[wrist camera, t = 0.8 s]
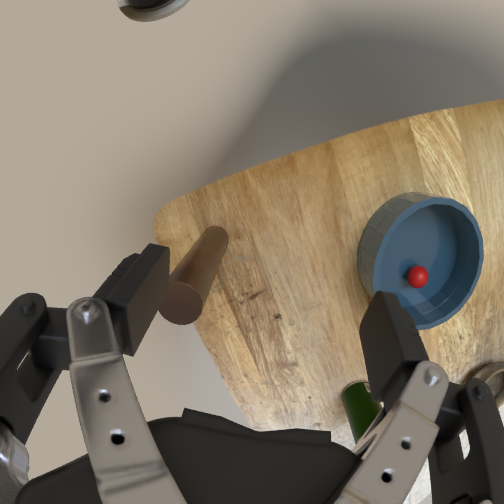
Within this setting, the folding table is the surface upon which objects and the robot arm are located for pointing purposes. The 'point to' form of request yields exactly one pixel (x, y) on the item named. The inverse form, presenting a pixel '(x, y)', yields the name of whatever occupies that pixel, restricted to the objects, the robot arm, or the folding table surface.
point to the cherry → (417, 276)
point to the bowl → (493, 380)
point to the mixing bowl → (422, 255)
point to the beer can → (359, 407)
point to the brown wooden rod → (194, 278)
